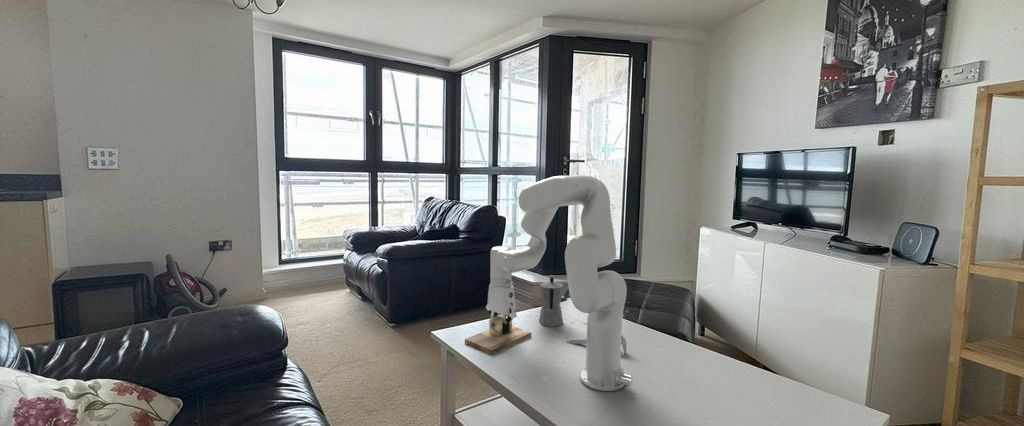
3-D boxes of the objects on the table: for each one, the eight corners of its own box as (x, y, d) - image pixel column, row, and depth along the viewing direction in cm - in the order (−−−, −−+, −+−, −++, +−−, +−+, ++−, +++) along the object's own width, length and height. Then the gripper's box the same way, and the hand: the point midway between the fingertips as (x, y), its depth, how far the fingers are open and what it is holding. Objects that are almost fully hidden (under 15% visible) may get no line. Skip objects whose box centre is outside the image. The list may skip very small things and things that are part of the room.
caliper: (626, 353, 138) (627, 335, 137) (625, 354, 137) (626, 336, 136) (566, 341, 147) (567, 324, 146) (565, 342, 146) (566, 325, 145)
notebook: (531, 336, 150) (531, 332, 150) (491, 354, 135) (491, 350, 135) (504, 327, 159) (504, 323, 159) (464, 343, 144) (464, 338, 144)
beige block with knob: (513, 329, 152) (513, 316, 152) (496, 337, 146) (496, 323, 145) (504, 326, 155) (504, 313, 155) (487, 333, 149) (487, 319, 148)
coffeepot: (539, 316, 171) (540, 272, 169) (562, 316, 170) (563, 273, 168) (538, 330, 156) (538, 283, 154) (563, 331, 155) (564, 284, 153)
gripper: (526, 283, 146) (525, 334, 148) (491, 275, 157) (491, 322, 159) (511, 288, 140) (510, 341, 142) (476, 279, 151) (476, 327, 154)
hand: (500, 330), depth 151 cm, fingers closed on beige block with knob, 4 cm apart
